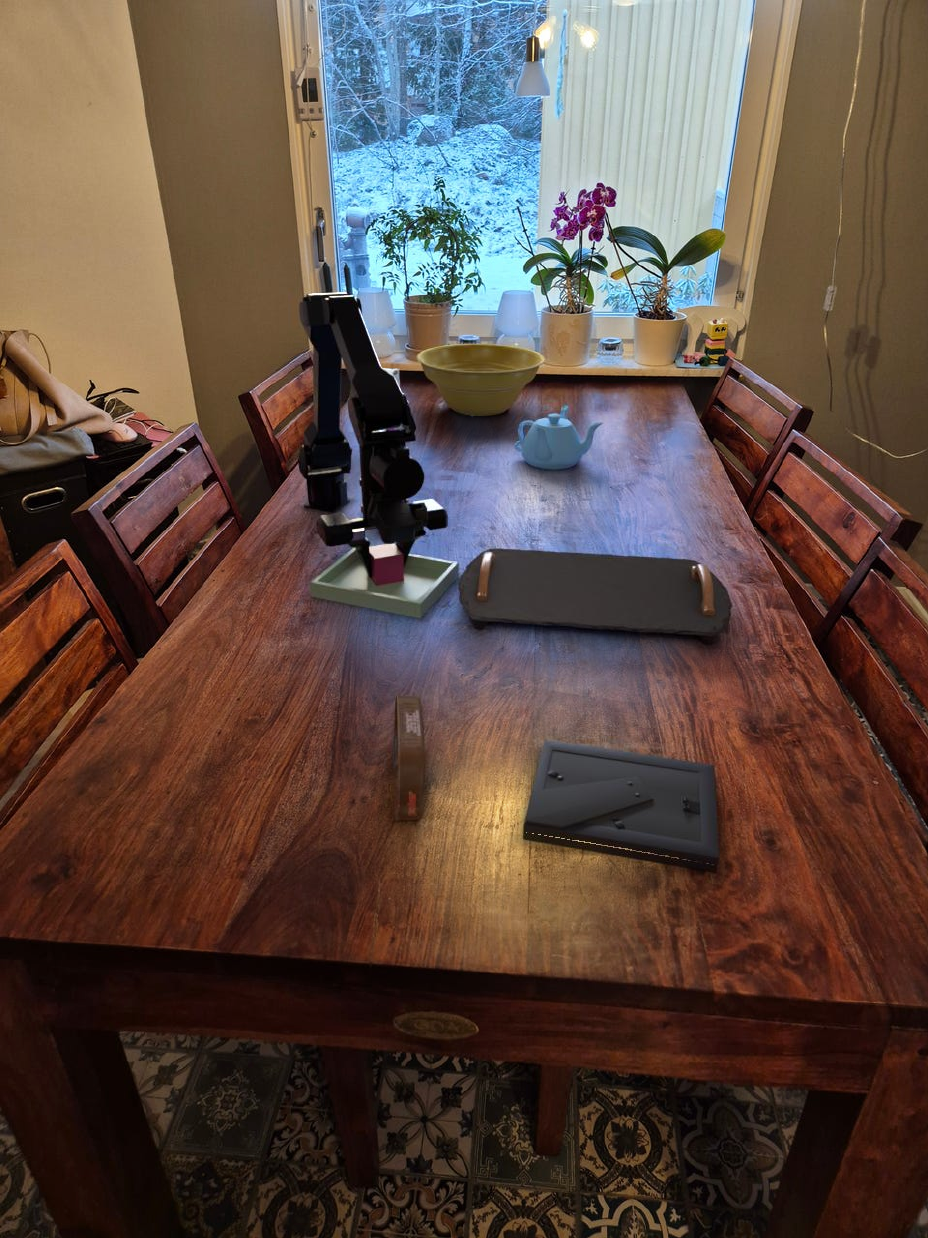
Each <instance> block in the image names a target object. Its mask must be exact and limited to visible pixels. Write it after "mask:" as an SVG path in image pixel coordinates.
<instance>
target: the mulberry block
mask: <svg viewBox="0 0 928 1238" xmlns="http://www.w3.org/2000/svg"><path fill="white" fill-rule="evenodd" d="M369 551H370V558H371V564H372V578H371V580H372V581H373V582H374V584H375V585H376V586H379V585H384V584H389V583H395V582H400V581H404V559H403V553H402V552H401V551H400V550H399V549H398V547H397V546H396V543H393V544H386V543H384V544H378V545H372V546H371V545H370V547H369Z"/></svg>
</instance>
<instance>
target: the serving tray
mask: <svg viewBox="0 0 928 1238" xmlns="http://www.w3.org/2000/svg"><path fill="white" fill-rule="evenodd" d="M457 588H458V592H459V601H460V603H461V605H462V606H463V609H464V610H465V613H466V614H467V615H468V616H469V617H470V618H471V619H472V620H471V622H472V625H473V627H474V629H475V630H477V631H482V630H484V629H486V626H487V625H488V622H492V623H493V622H494V623H507V624H520V625H521V624H522V625H533V626H544V627H547V626H549V627H553V626H555V627H573V628H579V629H591V630H609V631H610V630H611V631H625V632H636V633H663V634H675V635H687V636H688V635H690V636H700V640H701V642H702V644H703V645H704V646H705V645H706V646H712V645H713V644H714V643H715V642H716V641H717V640H718V636H721V635H722V634H723V633H724V631H725V629H726V626H727V625H728V623H729V622H730V621H731V616H732V612H731V610H732V607H733V602H732V599H731V598H730V594H729V592H728V589H727V588H726V587H725V585H724V584H723V582H722V581H721V580H720V579H719V578H718V577H717V576H716V575H715V574H714V573H713V572H712V571H711V570H709V567H708V566H707V565H706V564H703V563H701V562H699V561H696V560H694V559H688V558H671V557H657V556H656V557H655V556H639V555H619V554H618V555H617V554H603V553H584V552H567V551H548V550H531V549H530V550H529V549H519V548H518V549H517V548H515V549H514V548H489V549H486V550H484V551H482V552H481V553H479V554H478V555H477V556H475V558H473V559H472V560H470V562H469V563H468V564H467V565H466V566H465V570H464V571H463V572H462V574H460V577H459V580H458V587H457Z"/></svg>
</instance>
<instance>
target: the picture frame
mask: <svg viewBox="0 0 928 1238" xmlns="http://www.w3.org/2000/svg"><path fill="white" fill-rule="evenodd" d="M715 772H716V771H715V765H714V764H709V763H703V762H695V761H692V760H691V761H690V760H683V759H677V758H671V757H664V756H656V755H651V754H645V753H638V752H630V751H623V750H616V749H610V748H603V747H599V746H591V745H584V744H578V743H571V742H565V741H558V740H552V739H544V740H543V743H542V748H541V753H540V756H539V761H538V764H537V769H536V772H535V777H534V781H533V783H532V784H533V785H532V789H531V792H530V793H531V794H530V797H529V801H528V805H527V809H526V814H525V816H524V817H525V818H524V820H523V821H524V822H523V828H522V840H526V841H531V842H537V843H542V844H548V845H554V846H560V847H565V848H571V849H577V850H582V851H589V852H594V853H600V854H606V855H611V856H618V857H623V858H628V859H634V860H640V861H645V862H652V863H656V864H657V863H658V864H662V865H669V866H675V867H680V868H685V869H692V870H697V871H698V870H699V871H704V872H709V873H717V871H718V866H719V862H720V844H719V843H720V841H719V826H718V823H719V822H718V808H717V806H718V805H717V792H716V791H717V790H716V773H715ZM526 832H527V833H526ZM532 833H534V834H532ZM538 834H541V835H538ZM544 835H547V836H544ZM549 836H553V837H549ZM555 837H560V838H555ZM561 838H565V839H561ZM567 839H570V840H567ZM572 840H579V841H585V842H591V843H596V844H602V845H608V846H614V847H621V848H628V849H632V850H636V851H642V852H650V853H654V854H658V855H654V854H648V853H642V852H636V851H630V850H625V849H619V848H613V847H607V846H601V845H596V844H590V843H584V842H578V841H572ZM659 855H668V856H670V857H665V856H659ZM671 857H678V858H679V859H677V858H671ZM682 859H687V860H682ZM688 860H691V861H688ZM694 861H699V862H694ZM700 862H702V863H700ZM706 863H709V864H706ZM711 864H714V865H711ZM717 865H718V866H717Z"/></svg>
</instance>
